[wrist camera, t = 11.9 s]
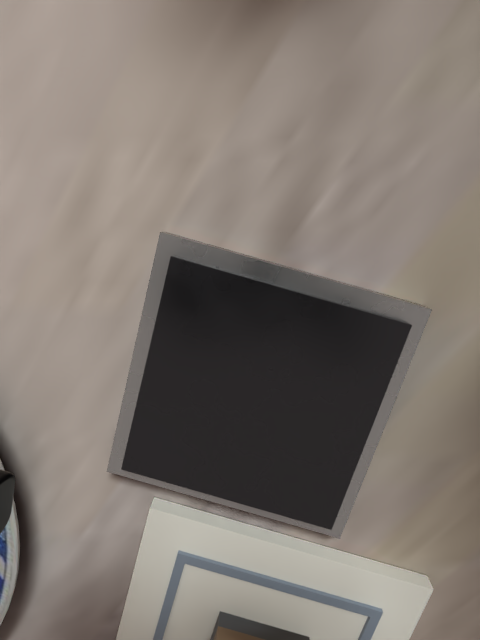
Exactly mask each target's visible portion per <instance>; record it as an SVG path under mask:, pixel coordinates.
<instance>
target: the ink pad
mask: <svg viewBox="0 0 480 640" xmlns="http://www.w3.org/2000/svg"><path fill="white" fill-rule="evenodd" d="M431 311H432V309H430V308H427V307H425V306H423V305H419V304H416V303H412V302H409V301H405V300H402V299H398V298H395V297H391V296H388V295H384V294H381V293H377V292H374V291H370V290H367V289H363V288H360V287H356V286H353V285H349V284H346V283H342V282H339V281H335V280H332V279H328V278H325V277H321V276H318V275H314V274H311V273H307V272H304V271H300V270H297V269H293V268H290V267H286V266H283V265H279V264H276V263H272V262H269V261H265V260H262V259H258V258H255V257H251V256H248V255H244V254H241V253H237V252H233V251H230V250H226V249H223V248H219V247H216V246H212V245H209V244H205V243H202V242H198V241H195V240H191V239H188V238H184V237H181V236H177V235H174V234H170V233H167V232H160V235H159V240H158V244H157V249H156V253H155V258H154V262H153V267H152V271H151V276H150V280H149V285H148V289H147V294H146V298H145V303H144V307H143V312H142V316H141V321H140V325H139V330H138V334H137V338H136V343H135V347H134V352H133V356H132V361H131V365H130V370H129V374H128V379H127V383H126V388H125V392H124V397H123V401H122V406H121V410H120V415H119V419H118V424H117V428H116V433H115V437H114V442H113V446H112V451H111V455H110V459H109V464H108V468H107V472H110V473H114V474H117V475H121V476H124V477H127V478H131V479H134V480H138V481H141V482H145V483H148V484H152V485H155V486H159V487H162V488H166V489H169V490H173V491H176V492H180V493H183V494H187V495H190V496H194V497H197V498H201V499H204V500H207V501H211V502H214V503H218V504H221V505H225V506H228V507H232V508H235V509H239V510H242V511H246V512H249V513H253V514H256V515H260V516H263V517H267V518H270V519H274V520H277V521H281V522H284V523H287V524H291V525H294V526H298V527H301V528H305V529H308V530H312V531H315V532H319V533H322V534H326V535H329V536H333V537H336V538H340V537H341V534H342V532H343V529H344V527H345V525H346V522H347V520H348V517H349V515H350V512H351V510H352V507H353V505H354V502H355V500H356V497H357V495H358V492H359V490H360V487H361V485H362V482H363V480H364V477H365V475H366V472H367V470H368V467H369V465H370V462H371V460H372V457H373V455H374V452H375V450H376V447H377V445H378V442H379V440H380V437H381V435H382V433H383V430H384V428H385V425H386V423H387V420H388V418H389V415H390V413H391V410H392V408H393V405H394V403H395V400H396V398H397V395H398V393H399V390H400V388H401V385H402V383H403V380H404V378H405V375H406V373H407V370H408V368H409V365H410V363H411V360H412V358H413V355H414V353H415V350H416V348H417V345H418V343H419V340H420V338H421V336H422V333H423V331H424V328H425V326H426V323H427V321H428V318H429V316H430V313H431Z"/></svg>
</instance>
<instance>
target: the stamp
mask: <svg viewBox="0 0 480 640" xmlns="http://www.w3.org/2000/svg"><path fill="white" fill-rule="evenodd" d="M210 640H310V639H309V637H308V636H304V635H301V634H297V633H294V632H290V631H287V630H283V629H280V628H277V627H273V626H270V625H266V624H263V623H259V622H256V621H252V620H249V619H245V618H242V617H239V616H235V615H232V614H228V613H225V612H221V611H220V612H219V615H218V618H217V621H216V624H215V627H214V630H213V633H212V636H211V639H210Z"/></svg>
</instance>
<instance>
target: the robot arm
mask: <svg viewBox="0 0 480 640" xmlns="http://www.w3.org/2000/svg"><path fill="white" fill-rule="evenodd" d="M14 486H15V476H14V474H13V473H11V472H8V471H4V470H1V469H0V534H1V532H2V531H3V529H4V528H5V526H6V525H7V523H8V521H9V518H10V515H11V511H12V504H13V495H14Z"/></svg>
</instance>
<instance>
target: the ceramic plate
mask: <svg viewBox="0 0 480 640" xmlns="http://www.w3.org/2000/svg"><path fill="white" fill-rule="evenodd" d="M0 469H1V470H4V467H3V465H2V462H1V459H0ZM4 471H5V470H4ZM19 555H20V540H19V525H18V519H17V513H16V507H15V502H14V499H13V504H12V511H11V515H10V518H9V521H8V523H7V525H6V526H5V528H4V529H3V531H2V532H1V534H0V625H1V623H2V621H3V619H4V617H5V615H6V613H7V610H8V608H9V606H10V603H11V600H12V597H13V593H14V590H15V587H16V581H17V575H18V570H19Z"/></svg>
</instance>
